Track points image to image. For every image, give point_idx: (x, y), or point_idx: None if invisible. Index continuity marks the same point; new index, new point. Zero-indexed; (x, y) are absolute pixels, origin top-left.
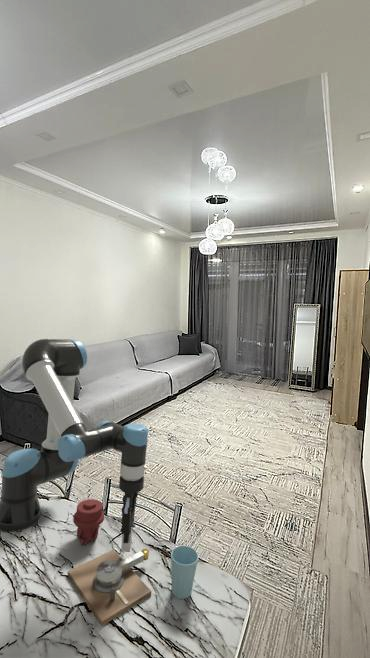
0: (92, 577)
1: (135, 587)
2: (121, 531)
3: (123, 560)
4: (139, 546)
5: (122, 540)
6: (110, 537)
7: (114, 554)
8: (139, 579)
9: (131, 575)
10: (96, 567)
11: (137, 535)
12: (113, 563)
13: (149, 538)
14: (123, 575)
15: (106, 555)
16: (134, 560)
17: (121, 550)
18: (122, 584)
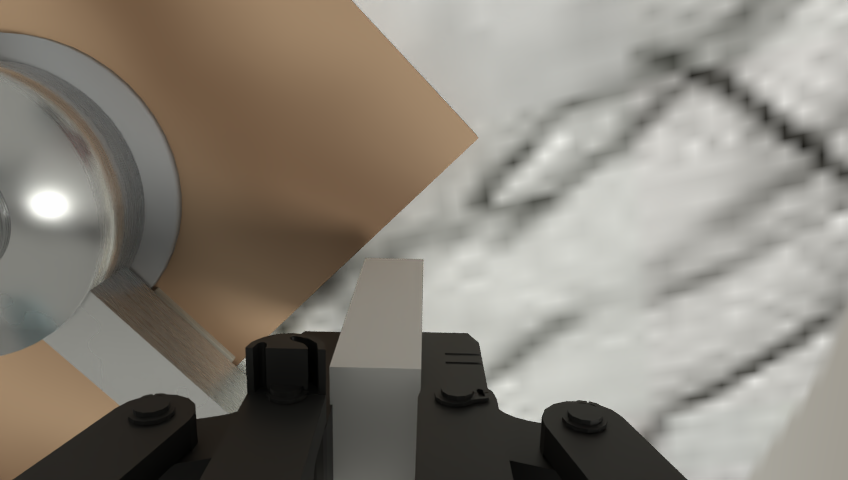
0: (24, 11)
1: (21, 443)
2: (128, 411)
3: (133, 342)
4: (605, 380)
5: (350, 310)
6: (739, 37)
7: (400, 166)
8: None
9: None
10: (170, 13)
11: (782, 335)
12: (38, 243)
13: (735, 458)
14: None
15: (372, 78)
16: None
17: (365, 264)
18: None
